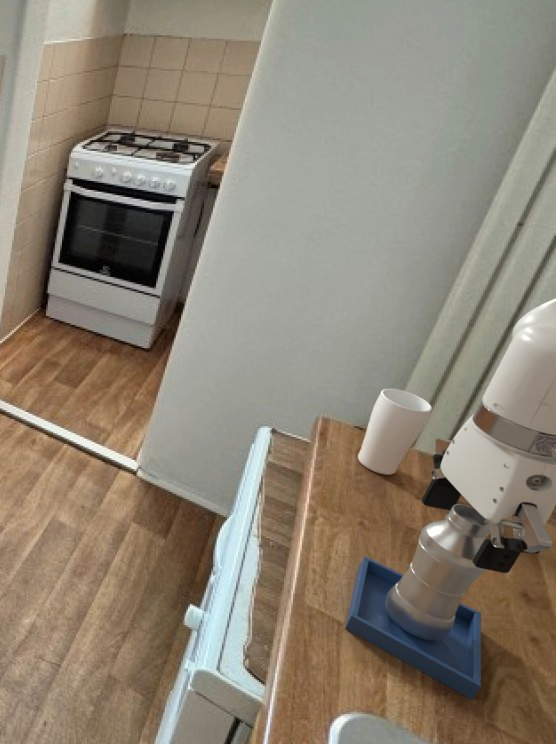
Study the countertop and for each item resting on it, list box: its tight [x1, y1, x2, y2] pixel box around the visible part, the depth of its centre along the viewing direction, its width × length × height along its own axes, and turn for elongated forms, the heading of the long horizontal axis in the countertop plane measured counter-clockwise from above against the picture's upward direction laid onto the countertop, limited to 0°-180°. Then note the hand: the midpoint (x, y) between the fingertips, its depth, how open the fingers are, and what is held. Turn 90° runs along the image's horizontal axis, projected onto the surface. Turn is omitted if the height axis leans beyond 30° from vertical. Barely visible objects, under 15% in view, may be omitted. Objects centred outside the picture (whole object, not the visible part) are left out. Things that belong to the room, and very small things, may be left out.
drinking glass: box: [357, 388, 433, 476], centre depth 108 cm, size 7×7×15 cm
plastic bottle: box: [385, 503, 490, 640], centre depth 79 cm, size 6×7×20 cm
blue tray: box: [344, 555, 482, 700], centre depth 82 cm, size 14×12×3 cm
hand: (461, 535), depth 76 cm, fingers open, 9 cm apart
